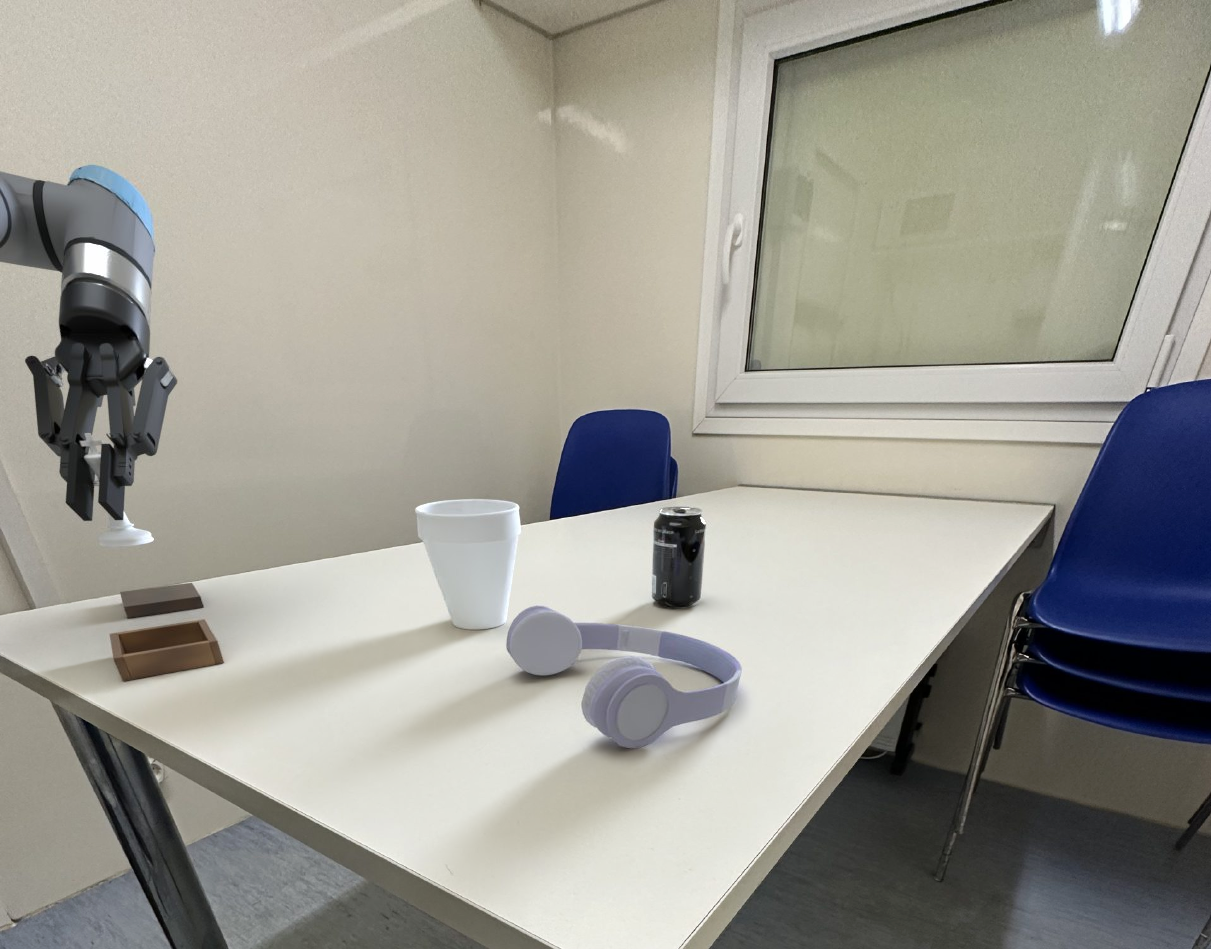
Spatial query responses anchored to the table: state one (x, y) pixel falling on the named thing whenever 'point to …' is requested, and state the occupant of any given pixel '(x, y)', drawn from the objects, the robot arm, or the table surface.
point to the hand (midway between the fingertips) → (95, 511)
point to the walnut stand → (160, 600)
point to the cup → (472, 556)
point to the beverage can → (678, 556)
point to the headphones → (625, 673)
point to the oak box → (164, 649)
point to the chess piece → (120, 529)
